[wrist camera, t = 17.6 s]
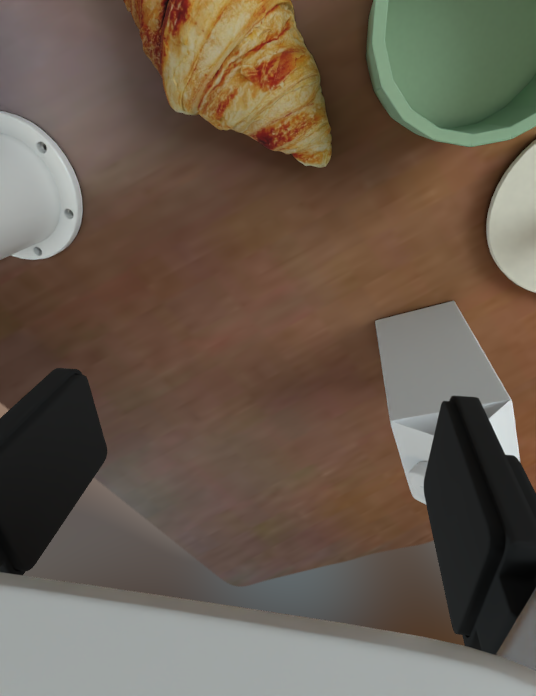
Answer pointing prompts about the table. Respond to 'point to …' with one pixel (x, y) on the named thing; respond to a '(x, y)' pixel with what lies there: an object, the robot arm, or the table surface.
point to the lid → (515, 221)
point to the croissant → (239, 70)
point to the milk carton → (436, 382)
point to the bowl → (455, 67)
